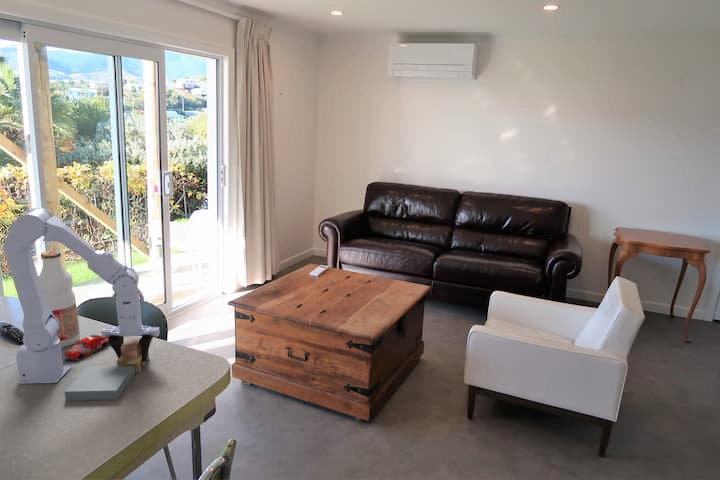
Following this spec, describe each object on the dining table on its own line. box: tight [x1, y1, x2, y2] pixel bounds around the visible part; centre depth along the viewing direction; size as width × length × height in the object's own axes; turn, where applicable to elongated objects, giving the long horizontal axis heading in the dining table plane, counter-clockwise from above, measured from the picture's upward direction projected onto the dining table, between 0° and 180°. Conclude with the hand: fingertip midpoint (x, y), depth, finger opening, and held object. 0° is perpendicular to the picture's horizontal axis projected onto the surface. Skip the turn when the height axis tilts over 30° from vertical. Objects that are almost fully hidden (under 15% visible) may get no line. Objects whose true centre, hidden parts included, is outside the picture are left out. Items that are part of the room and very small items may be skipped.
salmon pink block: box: [121, 337, 142, 358], centre depth 134 cm, size 4×5×4 cm
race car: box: [64, 333, 110, 361], centre depth 142 cm, size 13×5×4 cm, turn 156°
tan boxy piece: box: [116, 350, 150, 373], centre depth 135 cm, size 6×8×4 cm
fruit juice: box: [38, 250, 81, 349], centre depth 144 cm, size 9×9×28 cm
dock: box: [64, 365, 136, 402], centre depth 124 cm, size 12×12×2 cm
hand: (133, 359), depth 135 cm, fingers closed on tan boxy piece, 5 cm apart
